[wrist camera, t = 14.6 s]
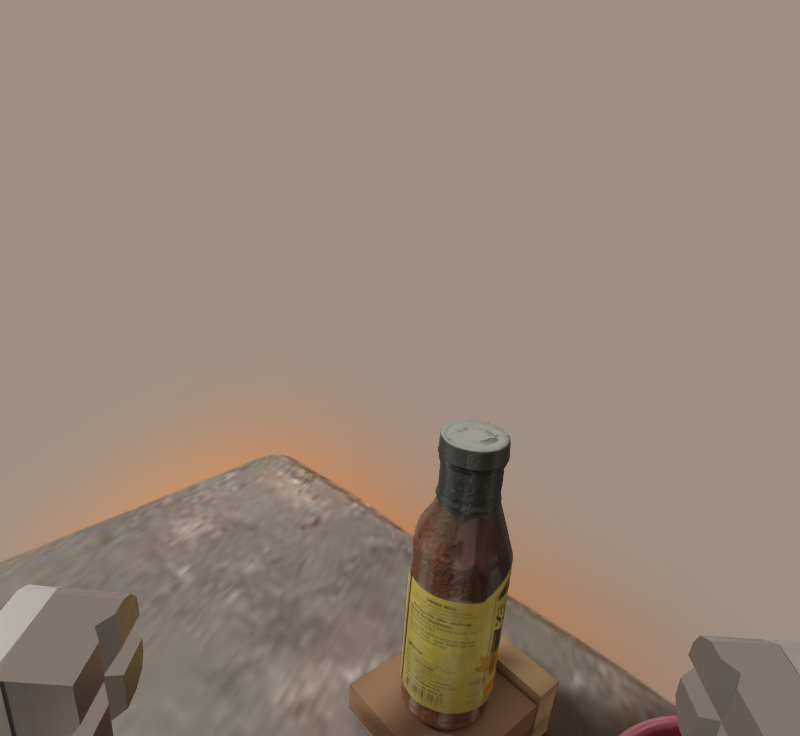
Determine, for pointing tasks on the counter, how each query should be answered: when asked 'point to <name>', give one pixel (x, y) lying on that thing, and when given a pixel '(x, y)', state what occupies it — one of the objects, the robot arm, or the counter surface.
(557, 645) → the counter surface
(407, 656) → the sauce bottle
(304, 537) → the counter surface
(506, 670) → the roller board
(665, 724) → the plant pot
